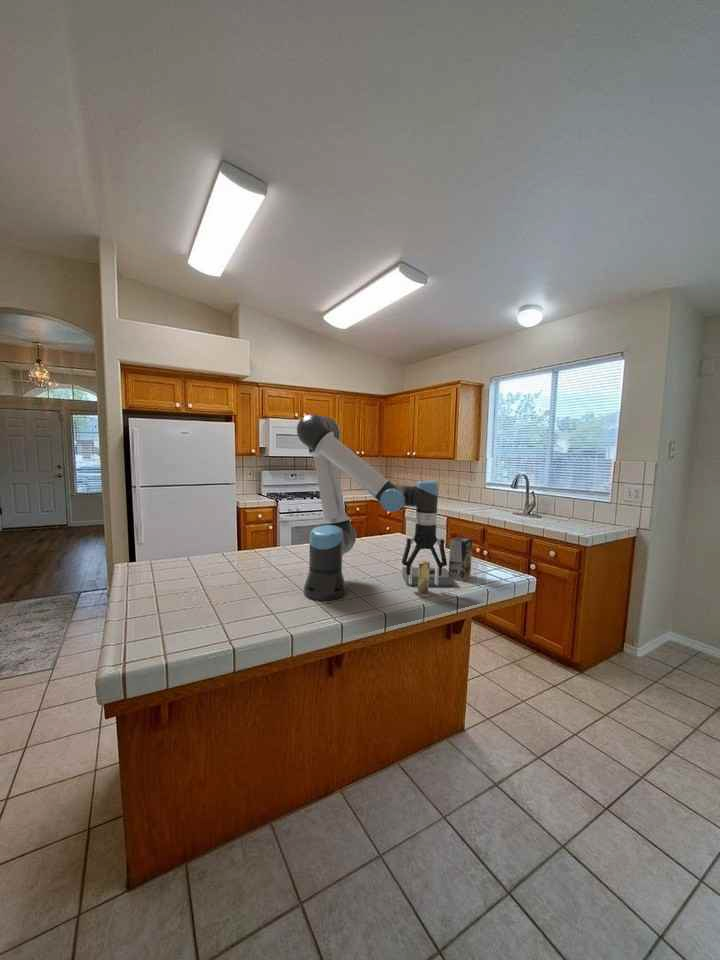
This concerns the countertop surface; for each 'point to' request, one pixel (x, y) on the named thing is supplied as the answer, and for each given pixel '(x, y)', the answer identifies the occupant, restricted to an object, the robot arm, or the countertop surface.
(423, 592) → the cylinder
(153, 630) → the countertop surface
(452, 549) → the coffee box
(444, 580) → the jig
